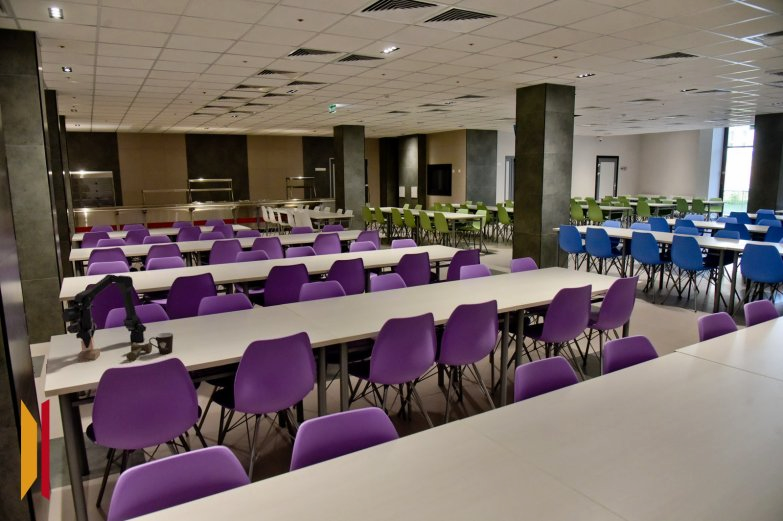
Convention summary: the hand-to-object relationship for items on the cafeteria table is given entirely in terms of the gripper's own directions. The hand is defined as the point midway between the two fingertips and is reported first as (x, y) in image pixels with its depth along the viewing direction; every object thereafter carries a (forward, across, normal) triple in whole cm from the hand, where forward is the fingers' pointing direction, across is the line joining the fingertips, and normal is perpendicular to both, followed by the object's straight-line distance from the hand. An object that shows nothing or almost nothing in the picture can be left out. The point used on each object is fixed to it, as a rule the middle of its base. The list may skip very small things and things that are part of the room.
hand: (88, 346), depth 274 cm
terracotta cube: (+1, 0, 0) cm, 1 cm away
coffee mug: (+7, +4, +36) cm, 37 cm away
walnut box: (+7, 0, 0) cm, 7 cm away
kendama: (+7, +4, +24) cm, 25 cm away
